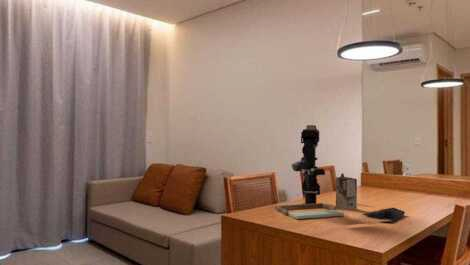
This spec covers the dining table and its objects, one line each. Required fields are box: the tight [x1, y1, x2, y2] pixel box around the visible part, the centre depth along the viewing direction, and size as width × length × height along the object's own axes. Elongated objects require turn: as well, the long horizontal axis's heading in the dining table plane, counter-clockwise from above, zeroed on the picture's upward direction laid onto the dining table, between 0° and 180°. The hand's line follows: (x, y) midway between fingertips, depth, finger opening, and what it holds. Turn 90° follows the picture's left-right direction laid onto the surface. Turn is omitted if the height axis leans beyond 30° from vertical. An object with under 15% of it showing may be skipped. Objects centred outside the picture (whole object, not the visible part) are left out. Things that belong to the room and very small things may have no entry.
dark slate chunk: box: [362, 207, 406, 225], centre depth 160 cm, size 15×22×5 cm
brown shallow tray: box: [274, 202, 337, 216], centre depth 165 cm, size 12×26×3 cm, turn 107°
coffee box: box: [335, 176, 358, 211], centre depth 174 cm, size 9×6×16 cm
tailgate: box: [288, 209, 345, 220], centre depth 155 cm, size 2×24×8 cm
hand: (309, 188), depth 165 cm, fingers closed
